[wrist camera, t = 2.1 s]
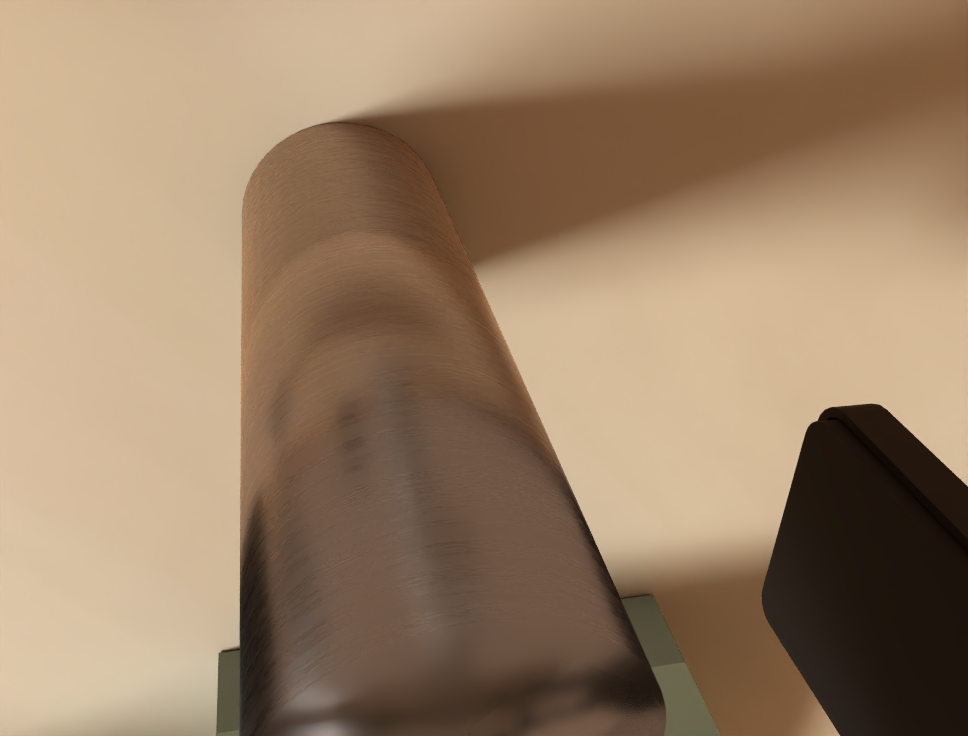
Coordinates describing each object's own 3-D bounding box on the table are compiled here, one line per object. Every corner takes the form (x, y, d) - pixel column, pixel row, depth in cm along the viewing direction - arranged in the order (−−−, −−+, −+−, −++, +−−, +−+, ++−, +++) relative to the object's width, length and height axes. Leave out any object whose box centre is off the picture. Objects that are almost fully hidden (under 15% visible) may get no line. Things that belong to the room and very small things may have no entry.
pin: (232, 124, 14) (215, 659, 6) (442, 120, 14) (700, 593, 6) (251, 310, 15) (258, 924, 7) (437, 299, 16) (633, 850, 8)
